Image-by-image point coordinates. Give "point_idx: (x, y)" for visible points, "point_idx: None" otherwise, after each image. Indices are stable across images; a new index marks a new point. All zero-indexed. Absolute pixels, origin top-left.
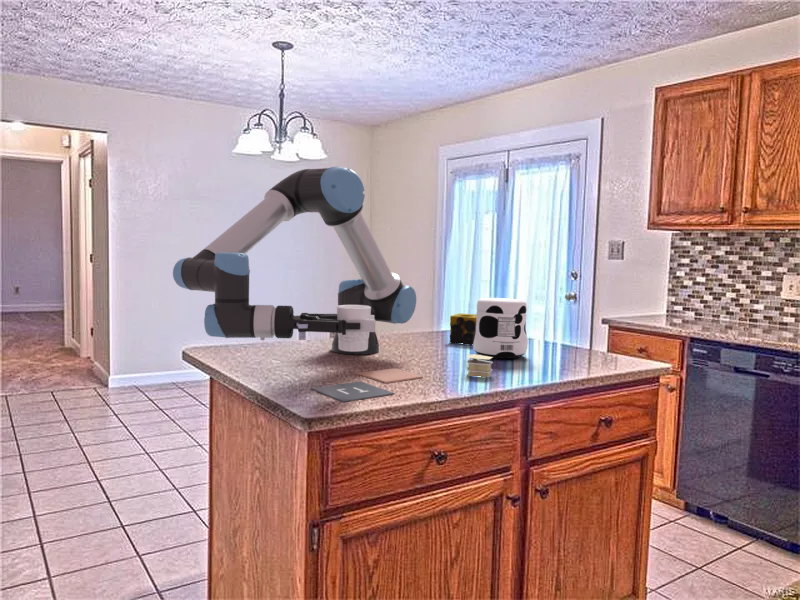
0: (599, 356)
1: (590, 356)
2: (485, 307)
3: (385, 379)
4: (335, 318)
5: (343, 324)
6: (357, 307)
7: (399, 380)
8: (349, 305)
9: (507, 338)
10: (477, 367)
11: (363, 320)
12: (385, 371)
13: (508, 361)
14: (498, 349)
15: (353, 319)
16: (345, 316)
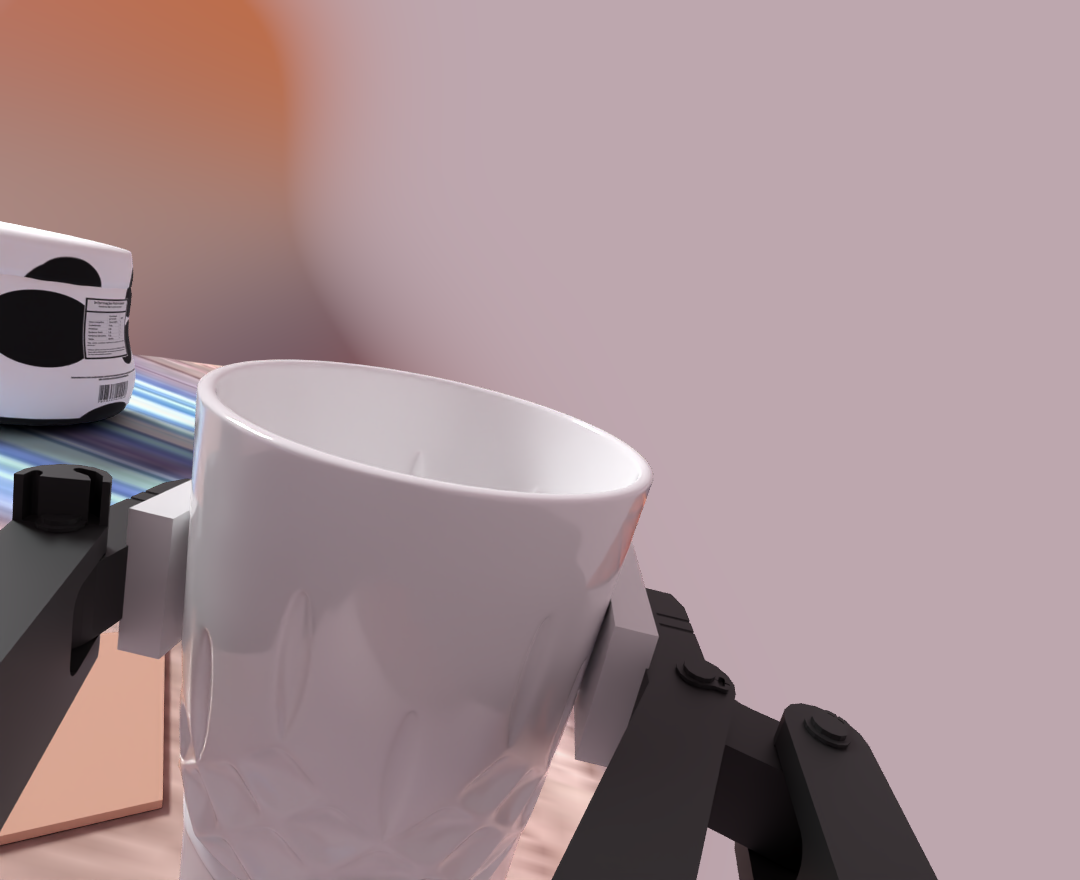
0: (202, 372)
1: (191, 375)
2: (24, 259)
3: (101, 785)
4: (35, 661)
5: (776, 730)
6: (274, 392)
7: (163, 726)
8: (224, 382)
9: (115, 363)
10: None
11: (632, 550)
12: None
13: (115, 429)
14: (91, 400)
15: (618, 585)
16: (601, 596)
